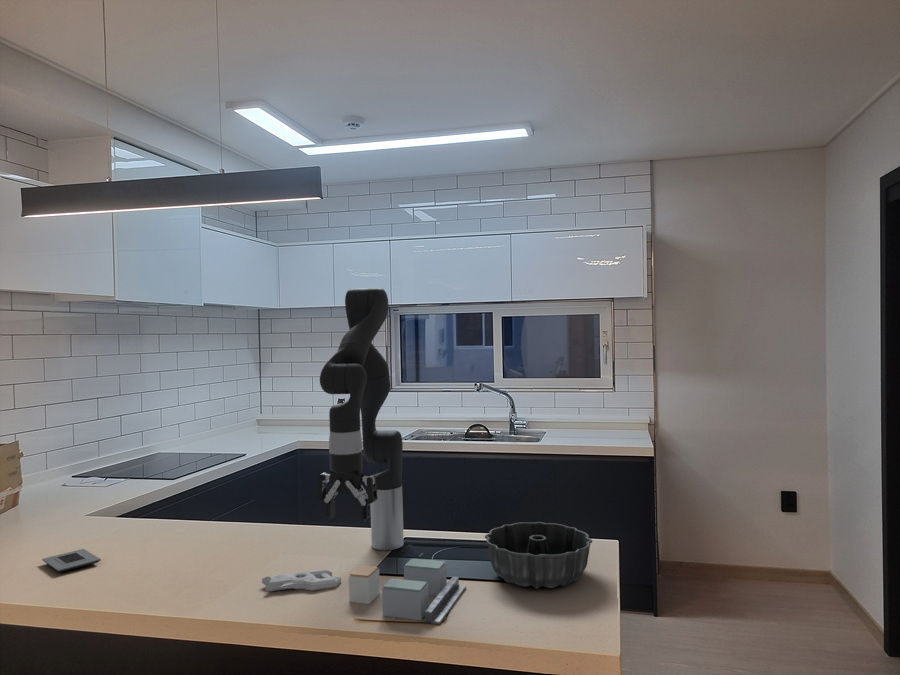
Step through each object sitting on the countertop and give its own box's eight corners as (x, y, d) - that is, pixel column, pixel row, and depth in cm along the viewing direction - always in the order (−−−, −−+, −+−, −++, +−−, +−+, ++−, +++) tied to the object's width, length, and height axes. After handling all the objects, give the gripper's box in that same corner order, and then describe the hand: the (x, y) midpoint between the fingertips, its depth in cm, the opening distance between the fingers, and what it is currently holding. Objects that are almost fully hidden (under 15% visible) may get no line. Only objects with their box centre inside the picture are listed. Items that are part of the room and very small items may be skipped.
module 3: (391, 606, 153) (390, 577, 152) (428, 610, 150) (428, 581, 150) (382, 615, 148) (381, 586, 148) (421, 620, 145) (420, 590, 145)
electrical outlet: (42, 566, 185) (42, 557, 185) (83, 555, 193) (83, 547, 193) (58, 578, 176) (58, 568, 176) (101, 566, 184) (100, 557, 184)
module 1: (360, 591, 161) (359, 564, 161) (379, 593, 160) (379, 566, 160) (349, 601, 156) (348, 574, 156) (369, 604, 154) (368, 576, 154)
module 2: (411, 584, 165) (411, 558, 165) (446, 587, 162) (446, 561, 162) (404, 592, 160) (403, 565, 160) (440, 596, 157) (439, 568, 157)
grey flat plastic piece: (268, 585, 158) (261, 572, 167) (267, 600, 158) (261, 586, 167) (343, 576, 165) (333, 563, 174) (343, 590, 165) (333, 577, 174)
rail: (453, 586, 163) (452, 576, 163) (465, 588, 162) (465, 577, 162) (425, 623, 144) (424, 611, 144) (439, 624, 143) (439, 613, 143)
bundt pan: (567, 553, 184) (567, 517, 184) (611, 590, 158) (610, 548, 158) (474, 563, 179) (473, 525, 178) (503, 603, 153) (502, 560, 153)
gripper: (380, 447, 157) (382, 516, 157) (326, 445, 161) (328, 512, 162) (366, 454, 150) (368, 526, 150) (310, 451, 154) (312, 521, 155)
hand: (348, 519), depth 156 cm, fingers open, 8 cm apart
